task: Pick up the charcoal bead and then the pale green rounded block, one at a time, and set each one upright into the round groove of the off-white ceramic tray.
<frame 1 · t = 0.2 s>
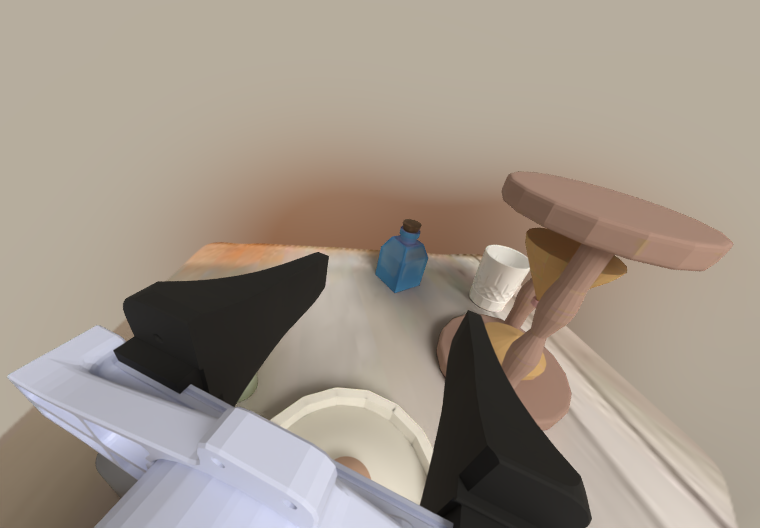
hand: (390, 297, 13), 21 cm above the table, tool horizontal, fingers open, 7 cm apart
perfume bottle: (397, 280, 53), on the table
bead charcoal: (151, 474, 22), on the table
groove tray: (342, 498, 23), on the table
pale green rounded block: (237, 385, 30), on the table
white cup: (485, 301, 52), on the table
hourglass: (495, 368, 39), on the table
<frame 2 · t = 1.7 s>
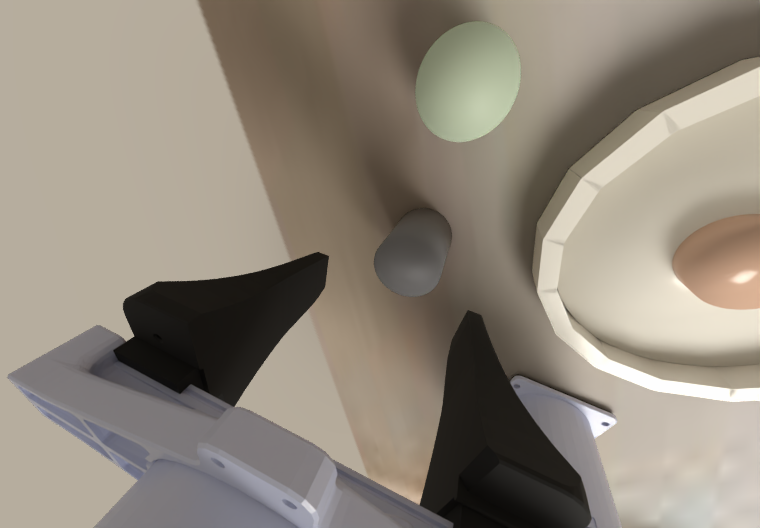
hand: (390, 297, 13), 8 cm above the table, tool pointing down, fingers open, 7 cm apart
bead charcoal: (423, 234, 20), on the table
groove tray: (718, 247, 14), on the table
pale green rounded block: (471, 92, 15), on the table
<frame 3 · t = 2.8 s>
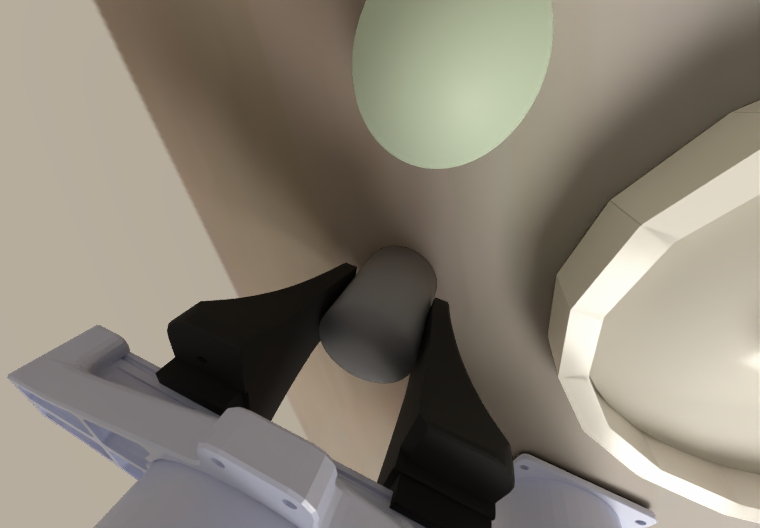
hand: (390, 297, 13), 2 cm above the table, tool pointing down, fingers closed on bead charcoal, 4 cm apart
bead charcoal: (399, 279, 15), on the table, touching gripper
pale green rounded block: (461, 84, 10), on the table
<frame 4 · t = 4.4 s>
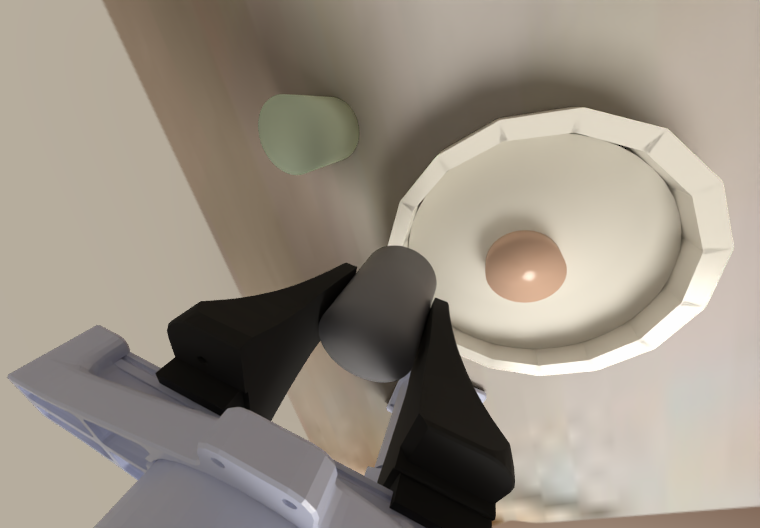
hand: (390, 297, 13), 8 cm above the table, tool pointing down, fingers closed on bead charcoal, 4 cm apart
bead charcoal: (399, 279, 15), point 7 cm above the table, touching gripper
groove tray: (520, 254, 19), on the table
pale green rounded block: (332, 130, 19), on the table
when the fingers open (4 cm above the table, at t = 5.8 s): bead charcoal drops 1 cm, resting on groove tray.
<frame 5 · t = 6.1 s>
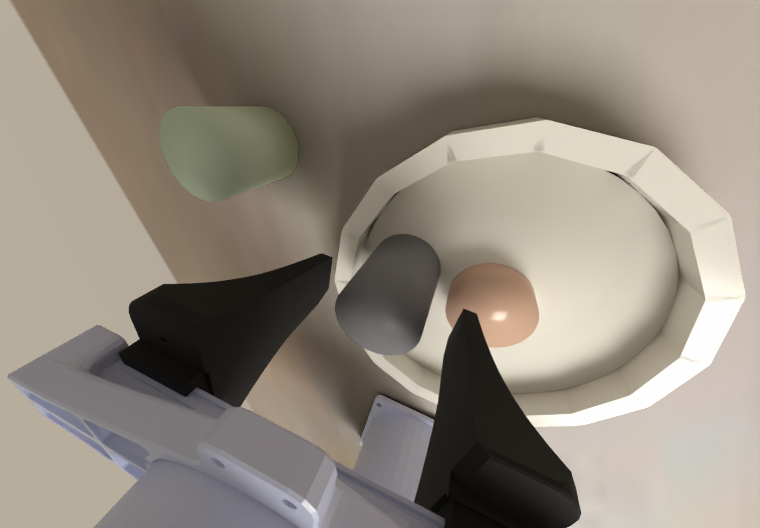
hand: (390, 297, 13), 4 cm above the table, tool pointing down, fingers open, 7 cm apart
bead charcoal: (406, 265, 16), point 1 cm above the table, touching groove tray
groove tray: (489, 288, 16), on the table
pale green rounded block: (269, 144, 16), on the table
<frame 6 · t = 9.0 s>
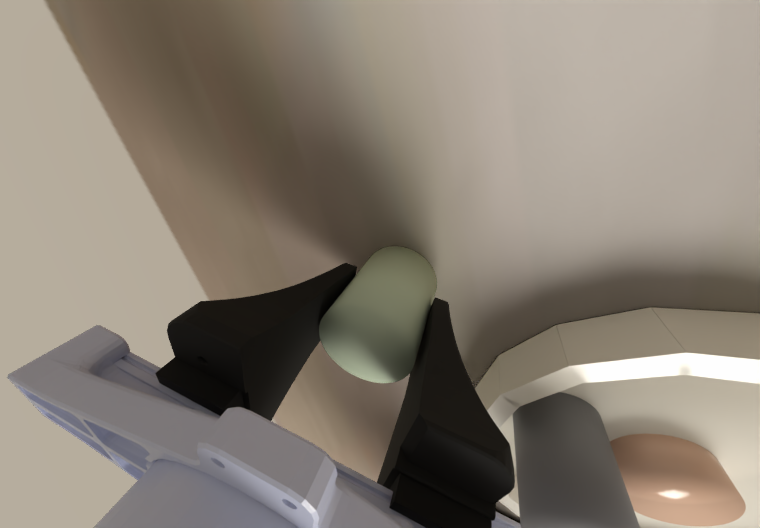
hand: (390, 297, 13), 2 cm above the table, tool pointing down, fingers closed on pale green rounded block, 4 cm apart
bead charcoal: (554, 417, 14), point 1 cm above the table, touching groove tray
groove tray: (647, 442, 14), on the table
pale green rounded block: (399, 279, 15), on the table, touching gripper
when the fingers open (4 cm above the table, at t = 12.1 s): pale green rounded block drops 1 cm, resting on groove tray.
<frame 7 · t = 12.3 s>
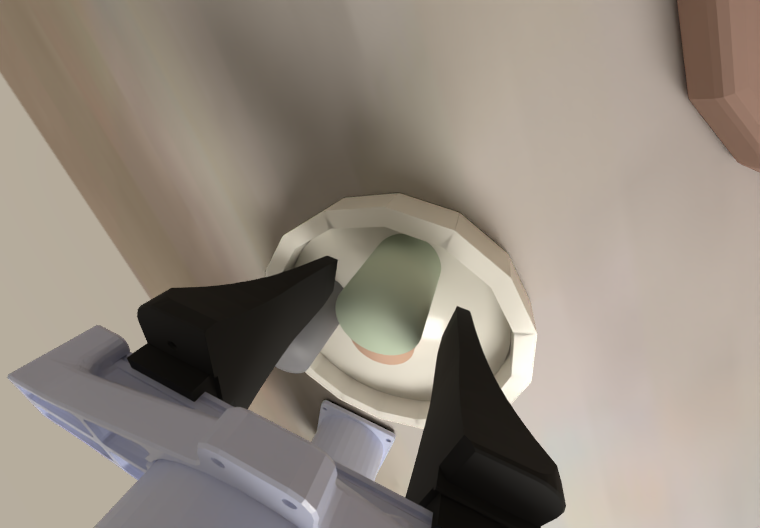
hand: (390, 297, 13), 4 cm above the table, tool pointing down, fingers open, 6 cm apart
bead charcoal: (323, 296, 19), point 1 cm above the table, touching groove tray
groove tray: (392, 315, 19), on the table
pale green rounded block: (406, 265, 16), point 1 cm above the table, touching groove tray
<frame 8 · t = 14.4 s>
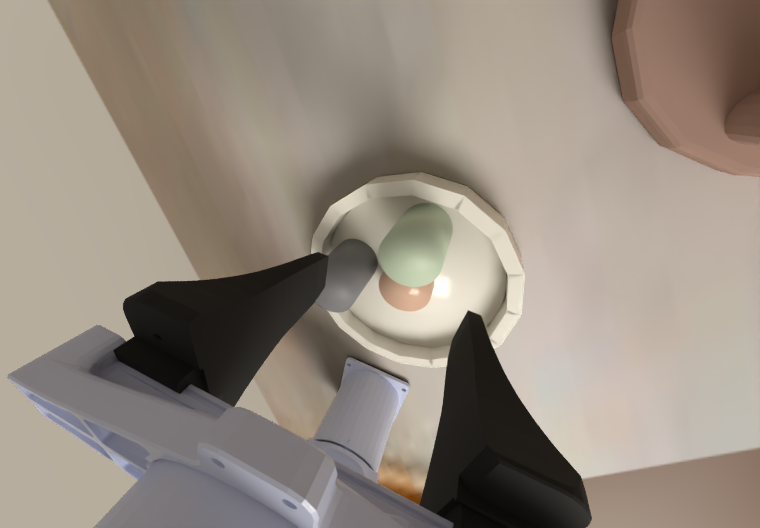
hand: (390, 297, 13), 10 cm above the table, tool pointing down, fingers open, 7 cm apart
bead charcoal: (356, 259, 24), point 1 cm above the table, touching groove tray
groove tray: (411, 274, 24), on the table
pale green rounded block: (425, 228, 21), point 1 cm above the table, touching groove tray
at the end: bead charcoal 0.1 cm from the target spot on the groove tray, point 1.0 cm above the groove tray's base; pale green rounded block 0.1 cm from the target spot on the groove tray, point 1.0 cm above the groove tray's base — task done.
